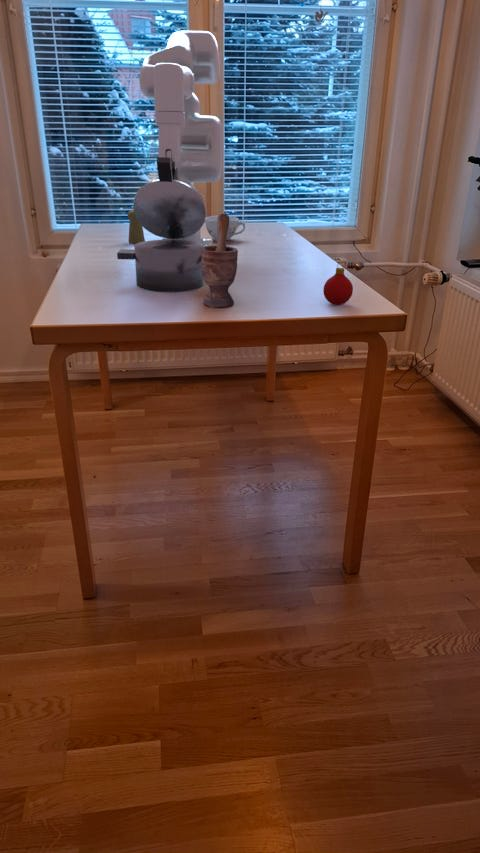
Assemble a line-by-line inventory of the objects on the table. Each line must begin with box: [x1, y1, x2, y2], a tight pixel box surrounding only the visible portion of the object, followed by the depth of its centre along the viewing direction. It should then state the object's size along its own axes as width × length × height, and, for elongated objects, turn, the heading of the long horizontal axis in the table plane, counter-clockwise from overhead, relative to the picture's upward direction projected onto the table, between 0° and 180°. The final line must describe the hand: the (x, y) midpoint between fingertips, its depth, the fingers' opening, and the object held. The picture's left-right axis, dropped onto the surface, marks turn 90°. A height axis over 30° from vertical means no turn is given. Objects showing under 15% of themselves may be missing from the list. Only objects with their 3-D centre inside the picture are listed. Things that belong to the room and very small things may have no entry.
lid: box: [132, 156, 207, 239], centre depth 151 cm, size 24×19×3 cm
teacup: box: [204, 215, 246, 241], centre depth 215 cm, size 15×12×8 cm
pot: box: [116, 237, 204, 293], centre depth 156 cm, size 20×27×10 cm
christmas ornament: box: [323, 262, 354, 306], centre depth 140 cm, size 7×7×10 cm
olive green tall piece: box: [127, 209, 146, 245], centre depth 207 cm, size 6×6×11 cm
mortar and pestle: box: [201, 213, 239, 309], centre depth 137 cm, size 12×9×20 cm
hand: (172, 196), depth 157 cm, fingers closed
